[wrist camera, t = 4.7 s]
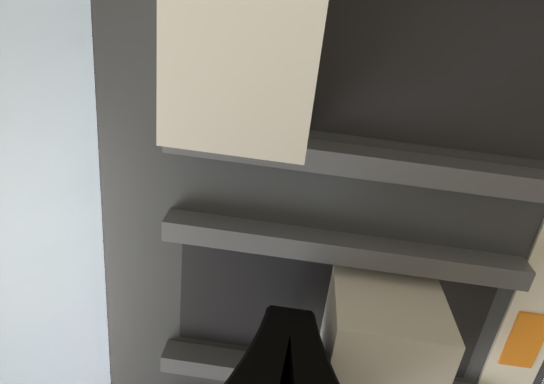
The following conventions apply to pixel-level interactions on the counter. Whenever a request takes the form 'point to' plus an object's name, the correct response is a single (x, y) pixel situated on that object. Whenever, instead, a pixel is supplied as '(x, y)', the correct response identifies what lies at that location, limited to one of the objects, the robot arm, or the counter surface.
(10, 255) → the counter surface
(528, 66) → the switch panel
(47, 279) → the counter surface
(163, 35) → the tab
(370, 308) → the tab middle
